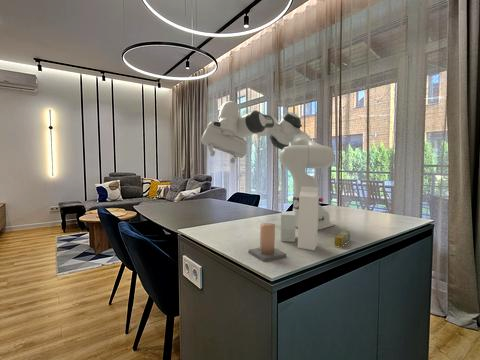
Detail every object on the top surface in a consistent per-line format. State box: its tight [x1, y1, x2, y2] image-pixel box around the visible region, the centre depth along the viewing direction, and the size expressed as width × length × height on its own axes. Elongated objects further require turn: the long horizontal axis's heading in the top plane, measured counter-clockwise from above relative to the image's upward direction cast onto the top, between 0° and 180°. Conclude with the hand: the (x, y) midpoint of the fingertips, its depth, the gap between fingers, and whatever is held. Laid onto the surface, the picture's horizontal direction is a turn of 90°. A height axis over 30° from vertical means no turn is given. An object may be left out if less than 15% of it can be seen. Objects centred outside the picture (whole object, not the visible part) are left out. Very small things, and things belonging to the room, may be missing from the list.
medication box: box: [334, 230, 351, 248], centre depth 101 cm, size 12×3×4 cm, turn 144°
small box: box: [280, 210, 296, 243], centre depth 105 cm, size 8×6×10 cm
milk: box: [297, 187, 320, 251], centre depth 95 cm, size 6×6×22 cm
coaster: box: [247, 247, 287, 262], centre depth 87 cm, size 9×9×1 cm
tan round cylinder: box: [259, 222, 276, 254], centre depth 87 cm, size 5×5×9 cm
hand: (222, 159), depth 109 cm, fingers open, 8 cm apart
